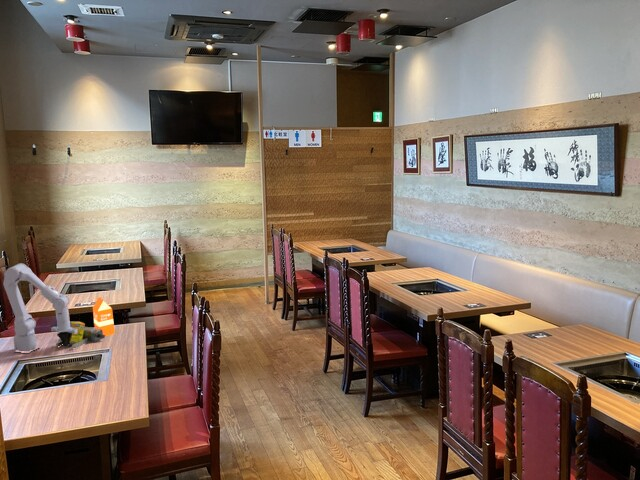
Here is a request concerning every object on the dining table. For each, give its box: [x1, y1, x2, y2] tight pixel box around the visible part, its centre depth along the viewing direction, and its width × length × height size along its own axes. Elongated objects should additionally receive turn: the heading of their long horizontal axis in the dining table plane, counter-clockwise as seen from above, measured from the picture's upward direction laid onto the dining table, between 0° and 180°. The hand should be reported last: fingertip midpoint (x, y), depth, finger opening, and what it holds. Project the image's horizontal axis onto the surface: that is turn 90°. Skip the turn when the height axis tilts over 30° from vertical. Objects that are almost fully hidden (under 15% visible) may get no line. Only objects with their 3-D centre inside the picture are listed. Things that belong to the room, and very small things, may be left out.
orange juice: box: [92, 296, 115, 337], centre depth 269 cm, size 8×9×20 cm
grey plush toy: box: [55, 326, 106, 349], centre depth 258 cm, size 21×17×6 cm
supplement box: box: [69, 321, 86, 346], centre depth 256 cm, size 6×6×11 cm
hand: (66, 345), depth 252 cm, fingers closed
